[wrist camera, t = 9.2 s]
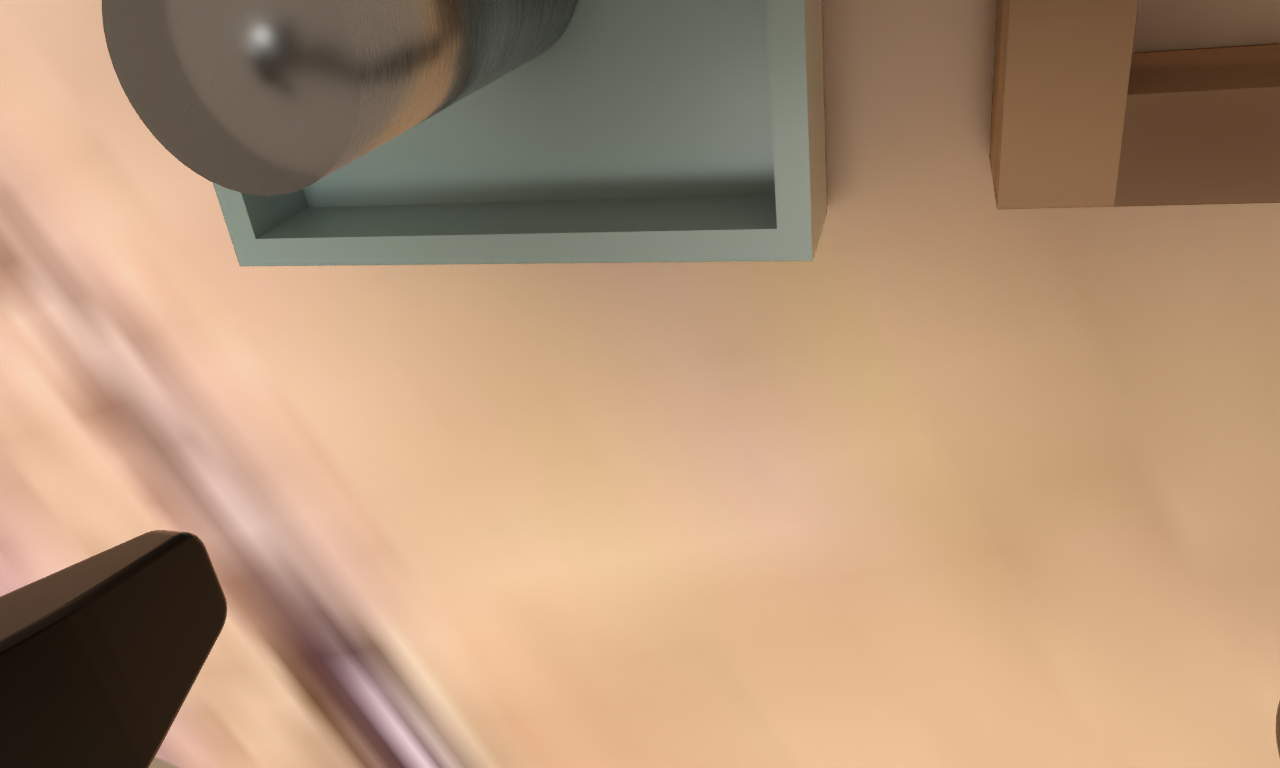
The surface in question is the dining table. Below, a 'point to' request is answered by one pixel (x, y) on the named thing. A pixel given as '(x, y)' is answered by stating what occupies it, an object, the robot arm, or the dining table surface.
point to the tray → (589, 154)
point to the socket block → (1126, 113)
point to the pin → (309, 75)
